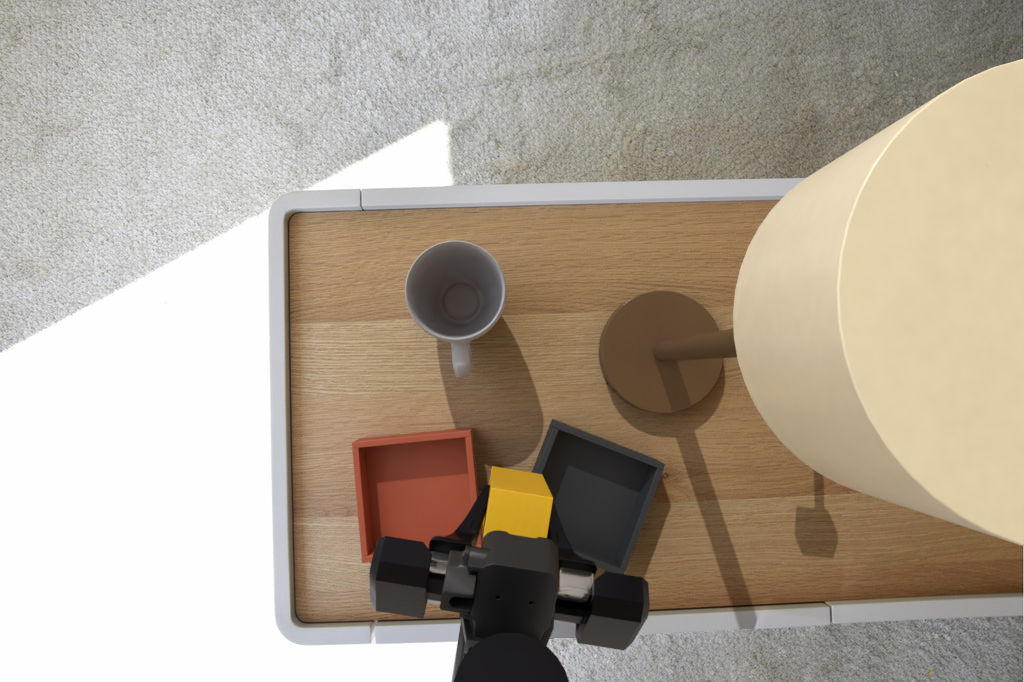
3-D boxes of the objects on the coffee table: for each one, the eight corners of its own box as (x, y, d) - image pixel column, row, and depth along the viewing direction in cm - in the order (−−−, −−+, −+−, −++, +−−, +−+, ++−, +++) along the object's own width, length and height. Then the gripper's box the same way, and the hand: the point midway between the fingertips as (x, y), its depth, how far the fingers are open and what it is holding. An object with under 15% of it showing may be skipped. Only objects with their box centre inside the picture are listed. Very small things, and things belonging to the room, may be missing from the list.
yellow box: (534, 525, 58) (543, 560, 47) (483, 517, 57) (480, 550, 46) (542, 474, 58) (553, 497, 47) (492, 466, 58) (491, 487, 47)
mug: (414, 261, 66) (400, 242, 56) (501, 255, 66) (503, 236, 56) (422, 380, 65) (409, 382, 56) (510, 374, 66) (513, 375, 56)
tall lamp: (715, 432, 66) (1303, 596, 18) (578, 408, 66) (802, 509, 18) (736, 296, 67) (1359, 101, 19) (601, 272, 66) (877, 11, 18)
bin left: (482, 540, 65) (482, 550, 61) (369, 552, 64) (361, 563, 61) (472, 427, 65) (470, 430, 62) (359, 438, 65) (351, 442, 61)
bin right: (616, 565, 65) (623, 576, 61) (511, 524, 65) (512, 533, 61) (656, 459, 66) (665, 464, 62) (552, 418, 65) (555, 421, 62)
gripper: (685, 676, 35) (663, 447, 46) (338, 621, 35) (403, 404, 46) (632, 744, 42) (624, 532, 54) (345, 699, 42) (400, 495, 54)
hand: (518, 492), depth 52 cm, fingers closed on yellow box, 4 cm apart
